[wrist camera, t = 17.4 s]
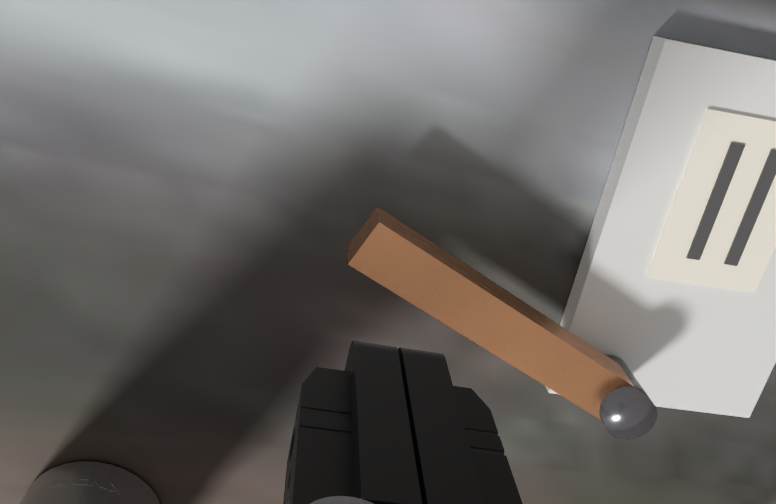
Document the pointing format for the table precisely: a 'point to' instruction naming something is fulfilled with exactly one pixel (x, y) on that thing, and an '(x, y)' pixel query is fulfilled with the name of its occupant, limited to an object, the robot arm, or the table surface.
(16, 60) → the table surface
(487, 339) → the bar
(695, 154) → the label panel
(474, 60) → the table surface
